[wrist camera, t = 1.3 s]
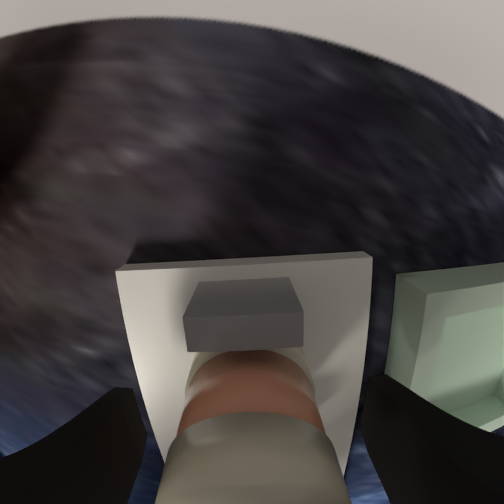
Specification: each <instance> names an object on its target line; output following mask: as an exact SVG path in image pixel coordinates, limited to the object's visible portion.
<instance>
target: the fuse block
mask: <svg viewBox="0 0 504 504" xmlns="http://www.w3.org/2000/svg"><path fill="white" fill-rule="evenodd" d="M372 261H373V257H372V256H370V255H368V254H367V253H365V252H363V251H358V252H341V253H324V254H306V255H289V256H271V257H253V258H235V259H216V260H197V261H178V262H159V263H139V264H125V265H123V266H122V267H121V268H119V269H118V270H116V278H117V284H118V290H119V295H120V301H121V306H122V312H123V317H124V322H125V327H126V331H127V336H128V340H129V345H130V349H131V353H132V358H133V362H134V366H135V370H136V374H137V377H138V381H139V385H140V388H141V392H142V396H143V399H144V403H145V406H146V409H147V413H148V416H149V419H150V422H151V425H152V428H153V431H154V434H155V437H156V440H157V443H158V446H159V449H160V452H161V455H162V457H163V460H164V463H165V461H166V457H167V453H168V449H169V447H170V445H171V443H172V442H173V440H174V439H175V438H176V435H177V431H178V427H179V423H180V419H181V415H182V411H183V407H184V403H185V387H186V383H187V379H188V376H189V372H190V369H191V365H192V362H193V358H194V355H195V352H223V351H248V350H265V349H280V348H293V347H302V349H303V352H304V355H305V358H306V361H307V364H308V367H309V370H310V373H311V376H312V379H313V382H314V387H315V400H316V403H317V406H318V409H319V413H320V416H321V419H322V423H323V426H324V429H325V433H326V435H327V436H328V437H329V439H330V440H331V442H332V443H333V446H334V448H335V451H336V455H337V458H338V461H339V464H340V467H341V471H342V474H343V477H344V472H345V468H346V464H347V460H348V455H349V450H350V446H351V441H352V436H353V431H354V426H355V420H356V415H357V409H358V403H359V397H360V390H361V384H362V377H363V369H364V361H365V353H366V344H367V335H368V324H369V313H370V299H371V283H372Z"/></svg>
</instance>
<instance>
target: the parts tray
mask: <svg viewBox="0 0 504 504" xmlns="http://www.w3.org/2000/svg"><path fill="white" fill-rule="evenodd" d="M385 374H387V375H388V376H390V377H392V378H393V379H395V380H396V381H398V382H399V383H401V384H402V385H404V386H405V387H407V388H408V389H410V390H412V391H413V392H415V393H416V394H418V395H419V396H421V397H422V398H424V399H425V400H427V401H429V402H430V403H432V404H433V405H435V406H437V407H438V408H440V409H442V410H444V411H445V412H447V413H449V414H451V415H453V416H455V417H457V418H459V419H460V420H462V421H464V422H467V423H469V424H471V425H473V426H476V427H478V428H481V429H483V430H486V431H488V432H491V431H493V430H495V429H497V428H499V427H501V426H503V425H504V262H503V263H494V264H486V265H477V266H468V267H459V268H450V269H440V270H430V271H420V272H410V273H399V274H396V282H395V295H394V305H393V315H392V324H391V332H390V339H389V347H388V353H387V360H386V366H385V372H384V375H385Z"/></svg>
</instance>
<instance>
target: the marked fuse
mask: <svg viewBox="0 0 504 504" xmlns="http://www.w3.org/2000/svg"><path fill="white" fill-rule="evenodd" d="M155 504H351V500H350V497H349V494H348V490H347V487H346V484H345V480H344V477H343V474H342V471H341V467H340V464H339V461H338V458H337V455H336V451H335V448H334V446H333V443H332V442H331V440H330V439H329V437H328V436H327V435H326V433H325V429H324V426H323V423H322V419H321V416H320V413H319V409H318V406H317V403H316V400H315V387H314V382H313V379H312V376H311V373H310V370H309V367H308V364H307V361H306V358H305V355H304V352H303V349H302V347H293V348H280V349H265V350H248V351H223V352H195V355H194V358H193V362H192V365H191V369H190V372H189V376H188V379H187V383H186V387H185V403H184V407H183V411H182V415H181V419H180V423H179V427H178V431H177V435H176V438H175V439H174V440H173V442H172V443H171V445H170V447H169V449H168V453H167V457H166V461H165V465H164V469H163V473H162V477H161V480H160V484H159V488H158V492H157V496H156V500H155Z"/></svg>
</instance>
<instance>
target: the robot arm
mask: <svg viewBox="0 0 504 504" xmlns="http://www.w3.org/2000/svg"><path fill="white" fill-rule="evenodd" d="M360 427H361V430H362V434H363V438H364V441H365V445H366V448H367V451H368V453H369V456H370V458H371V460H372V462H373V465H374V467H375V469H376V472H377V474H378V476H379V478H380V480H381V483H382V485H383V487H384V489H385V492H386V494H387V496H388V498H389V501H390V503H391V504H504V437H503V436H500V435H497V434H494V433H491V432H488V431H486V430H483V429H481V428H478V427H476V426H473V425H471V424H469V423H467V422H464V421H462V420H460V419H459V418H457V417H455V416H453V415H451V414H449V413H447V412H445V411H444V410H442V409H440V408H438V407H437V406H435V405H433V404H432V403H430V402H429V401H427V400H425V399H424V398H422V397H421V396H419V395H418V394H416V393H415V392H413V391H412V390H410V389H408V388H407V387H405V386H404V385H402V384H401V383H399V382H398V381H396V380H395V379H393V378H392V377H390V376H388V375H387V374H385V375H379V376H373V377H368V382H367V389H366V395H365V400H364V406H363V411H362V417H361V422H360ZM146 438H147V432H146V430H145V427H144V424H143V421H142V418H141V415H140V412H139V408H138V405H137V402H136V399H135V396H134V392H133V389H132V388H119V387H115V388H113V389H112V390H110V391H109V392H107V393H106V394H105V395H103V396H102V397H101V398H99V399H98V400H97V401H95V402H94V403H93V404H92V405H90V406H89V407H88V408H86V409H85V410H84V411H82V412H81V413H80V414H78V415H77V416H76V417H74V418H73V419H72V420H70V421H69V422H67V423H66V424H64V425H63V426H61V427H60V428H58V429H57V430H55V431H54V432H52V433H51V434H49V435H48V436H46V437H44V438H43V439H41V440H39V441H38V442H36V443H34V444H32V445H30V446H28V447H26V448H24V449H22V450H20V451H18V452H16V453H13V454H11V455H8V456H5V457H3V458H0V504H127V502H128V500H129V497H130V494H131V491H132V488H133V485H134V482H135V480H136V477H137V474H138V471H139V468H140V465H141V462H142V458H143V454H144V449H145V443H146Z"/></svg>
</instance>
